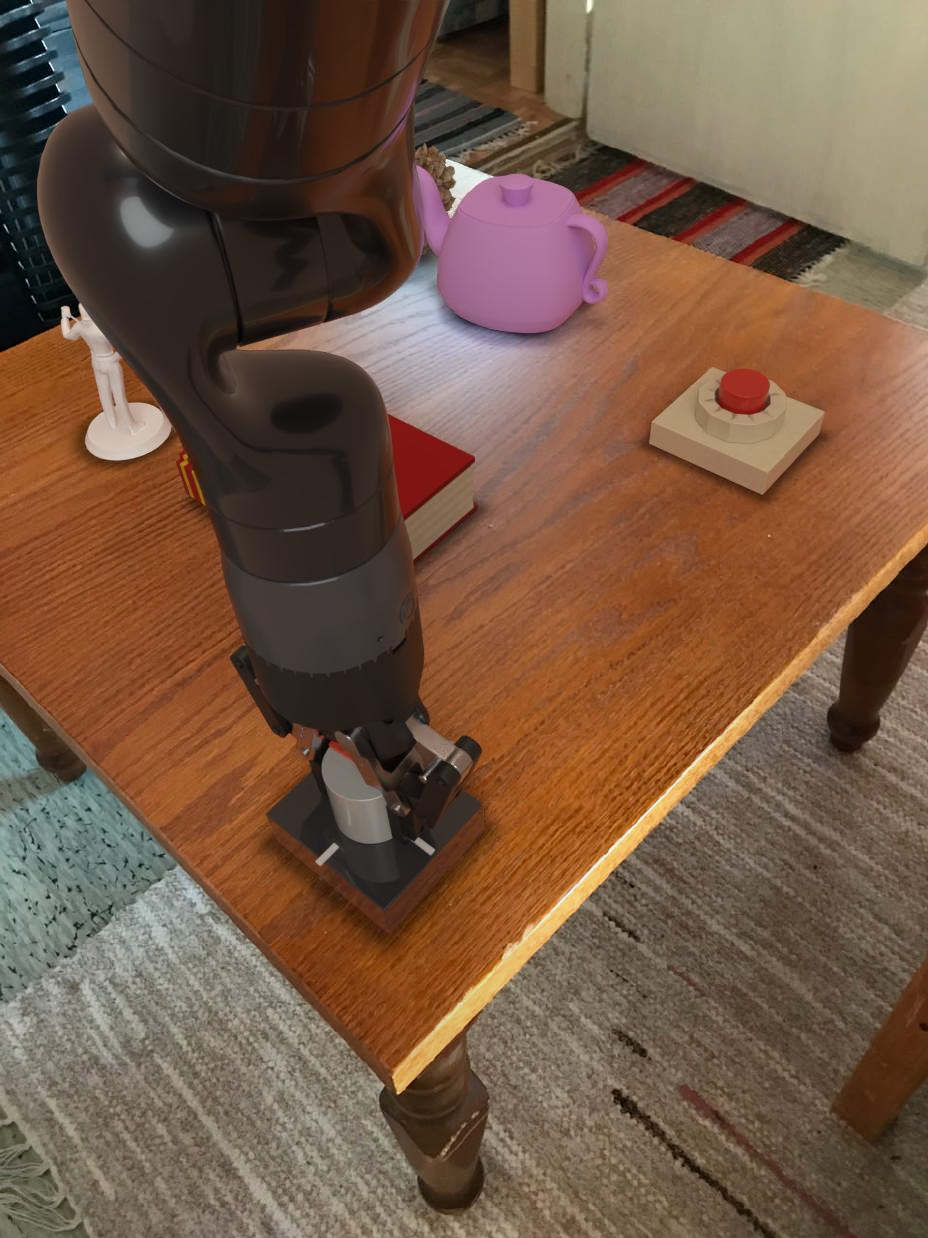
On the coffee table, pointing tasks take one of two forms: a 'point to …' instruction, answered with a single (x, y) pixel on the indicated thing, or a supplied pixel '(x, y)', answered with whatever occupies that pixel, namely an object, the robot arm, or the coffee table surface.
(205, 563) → the coffee table surface
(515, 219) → the teapot
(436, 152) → the pine cone
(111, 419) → the figurine
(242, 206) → the robot arm
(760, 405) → the button
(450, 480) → the book
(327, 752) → the burner knob
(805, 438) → the block
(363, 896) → the panel
